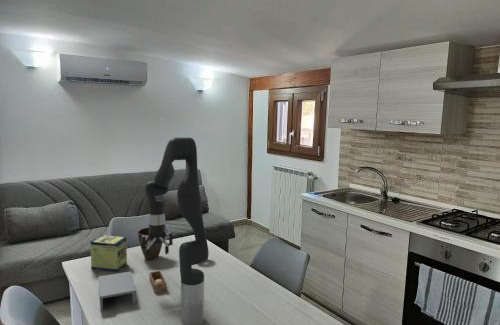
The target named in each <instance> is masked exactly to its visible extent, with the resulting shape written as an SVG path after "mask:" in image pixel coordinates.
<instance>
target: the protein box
mask: <svg viewBox="0 0 500 325" xmlns="http://www.w3.org/2000/svg"><path fill="white" fill-rule="evenodd" d="M127 247H128V246H127V237H126V236H114V235H103V234H101V235H100V236H98V237H97V238H95V239H93V240H91V241H90V269H91V270H97V271H107V272H115V273H117V272H119V271H120V270H121V269H123V268H125V266H127V265H128V256H127V255H128V251H127V250H128V248H127Z"/></svg>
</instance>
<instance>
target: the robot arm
mask: <svg viewBox="0 0 500 325" xmlns="http://www.w3.org/2000/svg"><path fill="white" fill-rule="evenodd" d="M174 161H185V172H184V175H183V178H182V179H181V183H180V184H179V187H178V188H177V193H176V197H177V206H178V211H179V213H180V215H182V217H183V218H184V219H185V221H186V222H187V223H188V224H189V226H190V227H191V230H192V231H193V235H194V240H190V241H186V242H185V241H184V242H183V243H181V244H180V246H179V248H178V253H179V254H178V256H179V274H180V322H181V324H182V325H203V324H204V320H205V317H204V316H205V273H204V272H203V271H202V270H201V269H198V268H193V267H192V266H195V265H198V264H203V263H205V262H207V261H208V260H209V255H210V254H209V245H208V239H207V236H206V230H205V226H204V224H205V223H204V218H203V209H202V208H203V207H202V199H201V191H200V183H199V175H198V173H199V172H198V152H197V144H196V141H195V139H194V138H192V137H173V138H170V139H169V141H168V142H167V144H166V146H165V150H164V153H163V156H162V160H161V164H160V166H159V168H158V170H157V172H156V173H155V175H154V177H153V180H152V181H148V182H146V184H145V185H144V192H145V196H146V198H147V203H148V228H149V235H146V236H144V235H142V248H143V249H146V256H148V257H149V248H150V246H151V245H152V244H153V243H154V244H156V243H161V242H163V243H162V244H164V245H165V246H164V253H165V255H168V253H169V252H170V246H173V244H174V243H173V241H174V240H173V233H172V232H171V231H168V232H167V233H166V215H165V201H163V200H161V199H156V198H155V197H159V196H164V195H166V194H167V193H168V191H169V186H170V182H171V180H172V179H173V178H174V175H175V167H174V165H173V162H174ZM166 237H167V238H168V242H167V241H166V240H165V239H166ZM147 238H149V239H150V240H149V242H148V243H147V245H145V240H147Z"/></svg>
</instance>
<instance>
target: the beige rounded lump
mask: <svg viewBox="0 0 500 325" xmlns="http://www.w3.org/2000/svg"><path fill="white" fill-rule="evenodd" d="M159 283H162V279H157V280H155V284H159Z"/></svg>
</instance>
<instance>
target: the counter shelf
mask: <svg viewBox="0 0 500 325" xmlns="http://www.w3.org/2000/svg"><path fill="white" fill-rule="evenodd" d="M135 285H136V284H135V281H134V278H133V275H132V271H125V272H119V273H113V274H106V275H101V276H98V293H99V294H98V295H99V296H98V297H99V309H100V312H103V311H104V304H103V302H104V300H103V299H107V298H113V297H118V296H124V295H129V294H131V298H132V299H131V300H132V302H131V303H132V305H134V304H137V288H136V286H135Z"/></svg>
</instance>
